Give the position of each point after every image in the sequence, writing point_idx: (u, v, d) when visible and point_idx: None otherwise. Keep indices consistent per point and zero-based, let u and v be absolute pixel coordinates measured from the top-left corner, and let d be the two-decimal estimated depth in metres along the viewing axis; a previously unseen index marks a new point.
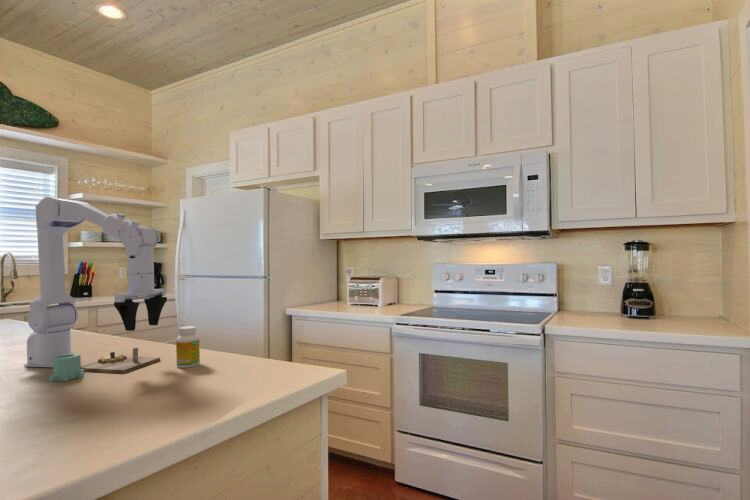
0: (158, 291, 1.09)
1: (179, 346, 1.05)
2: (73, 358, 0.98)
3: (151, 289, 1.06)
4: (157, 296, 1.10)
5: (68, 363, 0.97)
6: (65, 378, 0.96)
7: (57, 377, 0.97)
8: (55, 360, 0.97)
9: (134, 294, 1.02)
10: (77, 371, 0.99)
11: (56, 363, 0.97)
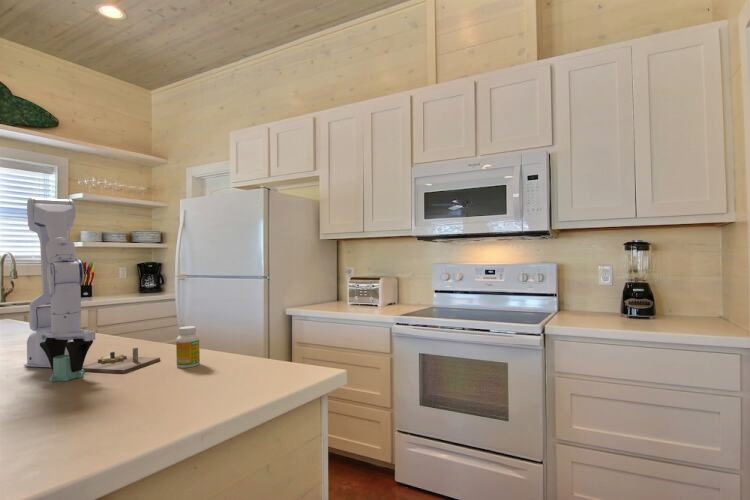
0: (70, 335, 0.96)
1: (179, 346, 1.05)
2: None
3: (55, 331, 0.96)
4: (78, 340, 0.97)
5: (68, 363, 0.97)
6: (65, 378, 0.96)
7: (57, 377, 0.97)
8: (55, 360, 0.97)
9: (45, 334, 0.98)
10: (77, 371, 0.99)
11: (56, 363, 0.97)
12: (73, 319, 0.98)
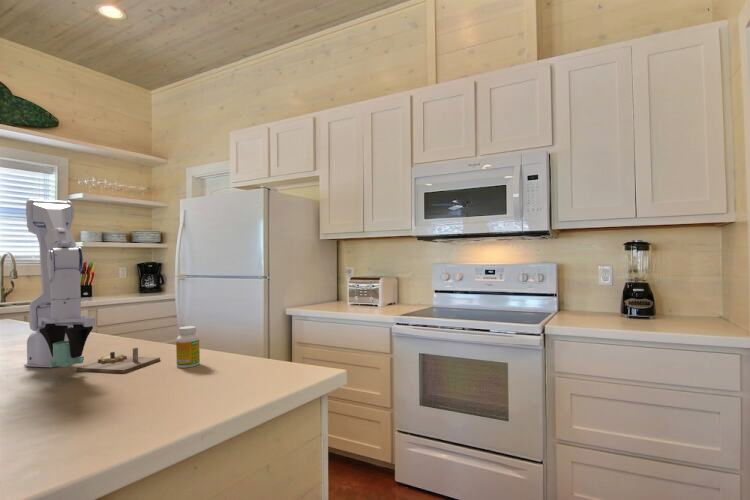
0: (70, 320, 0.96)
1: (179, 346, 1.05)
2: None
3: (55, 317, 0.96)
4: (78, 326, 0.97)
5: (68, 349, 0.97)
6: (65, 364, 0.96)
7: (57, 362, 0.97)
8: (55, 346, 0.97)
9: (45, 320, 0.98)
10: (77, 357, 0.99)
11: (55, 348, 0.97)
12: (73, 305, 0.98)
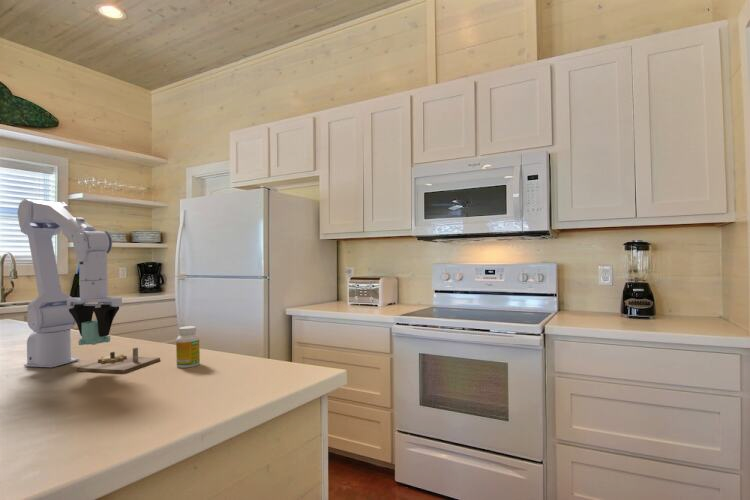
0: (98, 300, 1.00)
1: (179, 346, 1.05)
2: None
3: (83, 297, 1.00)
4: (105, 306, 1.01)
5: (96, 328, 1.01)
6: (93, 342, 1.00)
7: (86, 340, 1.01)
8: (83, 325, 1.01)
9: (74, 300, 1.02)
10: (104, 336, 1.03)
11: (84, 327, 1.01)
12: (100, 286, 1.02)
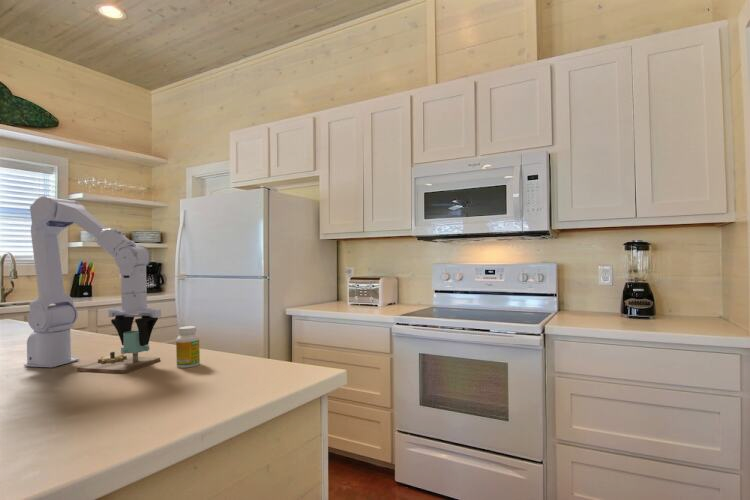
0: (140, 312, 1.07)
1: (179, 346, 1.05)
2: None
3: (126, 309, 1.07)
4: (146, 317, 1.08)
5: (137, 337, 1.08)
6: (135, 351, 1.07)
7: (128, 349, 1.07)
8: (126, 335, 1.07)
9: (116, 311, 1.09)
10: (144, 345, 1.09)
11: (126, 337, 1.07)
12: (141, 298, 1.08)
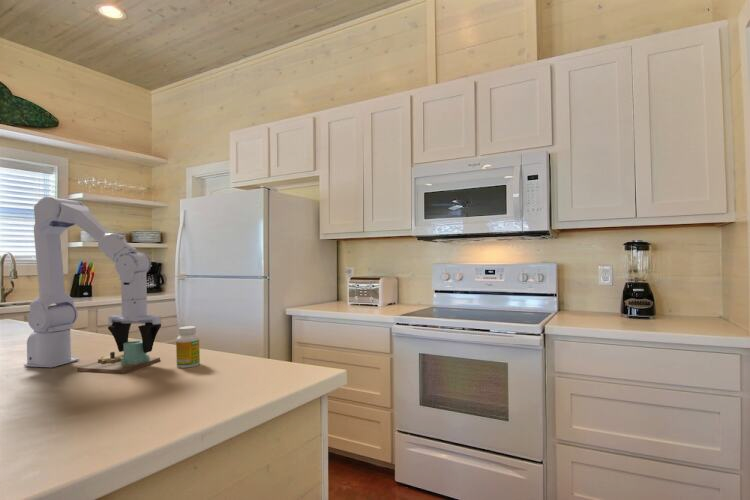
0: (140, 319, 1.07)
1: (179, 346, 1.05)
2: (141, 344, 1.08)
3: (126, 316, 1.07)
4: (146, 323, 1.08)
5: (137, 348, 1.08)
6: (135, 362, 1.07)
7: (128, 360, 1.07)
8: (126, 345, 1.07)
9: (116, 318, 1.09)
10: (144, 356, 1.09)
11: (126, 348, 1.07)
12: (141, 305, 1.08)
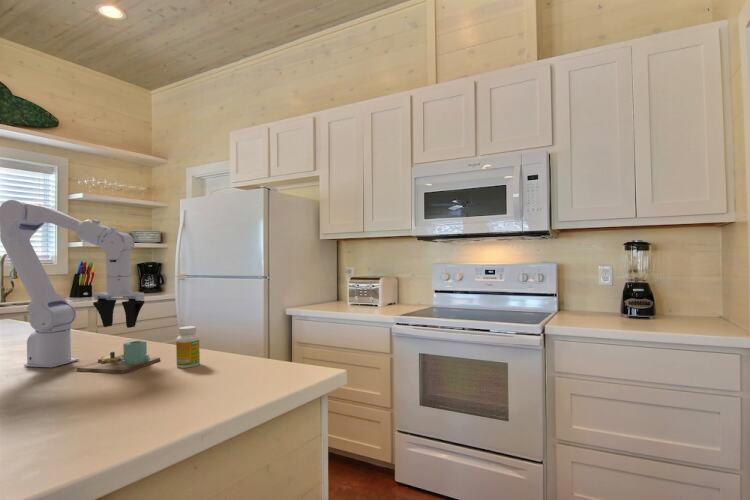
0: (123, 295, 1.11)
1: (179, 346, 1.05)
2: (141, 344, 1.08)
3: (110, 292, 1.11)
4: (130, 299, 1.12)
5: (137, 348, 1.08)
6: (135, 362, 1.07)
7: (128, 360, 1.07)
8: (126, 345, 1.07)
9: (101, 294, 1.13)
10: (144, 356, 1.09)
11: (126, 348, 1.07)
12: (125, 282, 1.13)
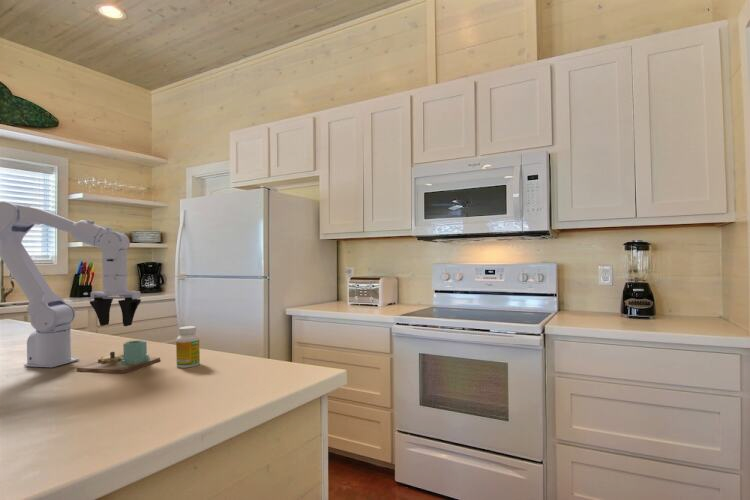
0: (120, 293, 1.12)
1: (179, 346, 1.05)
2: (141, 344, 1.08)
3: (106, 291, 1.12)
4: (126, 298, 1.13)
5: (137, 348, 1.08)
6: (135, 362, 1.07)
7: (128, 360, 1.07)
8: (126, 345, 1.07)
9: (97, 293, 1.14)
10: (144, 356, 1.09)
11: (126, 348, 1.07)
12: (121, 281, 1.14)
